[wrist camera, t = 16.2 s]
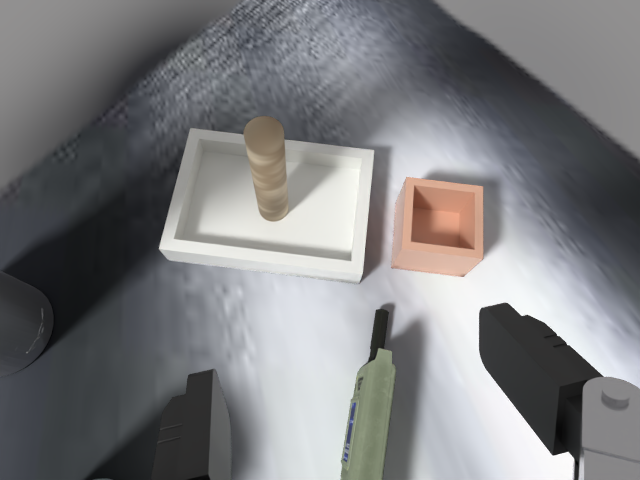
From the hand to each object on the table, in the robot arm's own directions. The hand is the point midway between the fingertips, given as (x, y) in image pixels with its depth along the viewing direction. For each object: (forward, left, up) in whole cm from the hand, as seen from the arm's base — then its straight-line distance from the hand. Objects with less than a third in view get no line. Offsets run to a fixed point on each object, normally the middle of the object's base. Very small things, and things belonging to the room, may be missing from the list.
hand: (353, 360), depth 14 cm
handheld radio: (+4, -3, -33) cm, 34 cm away
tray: (-8, +19, -33) cm, 38 cm away
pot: (+9, +18, -33) cm, 38 cm away
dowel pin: (-7, +19, -32) cm, 38 cm away
